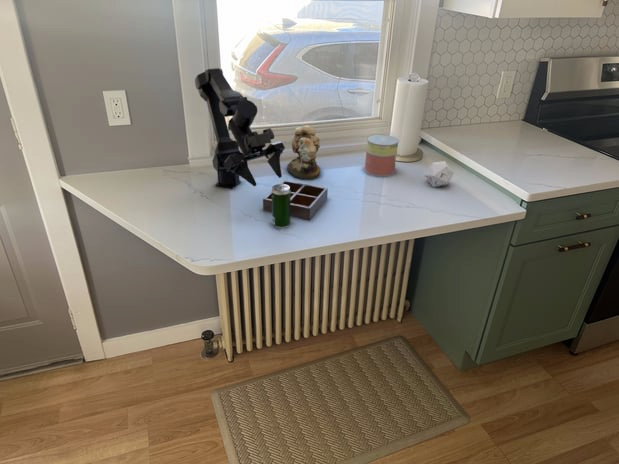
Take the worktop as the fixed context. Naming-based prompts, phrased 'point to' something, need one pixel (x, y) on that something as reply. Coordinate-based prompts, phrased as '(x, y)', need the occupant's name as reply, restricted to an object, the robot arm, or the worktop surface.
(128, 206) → the worktop surface
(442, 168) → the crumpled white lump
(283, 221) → the beer can
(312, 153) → the beige bust sculpture
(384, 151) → the canned food
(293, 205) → the rack
